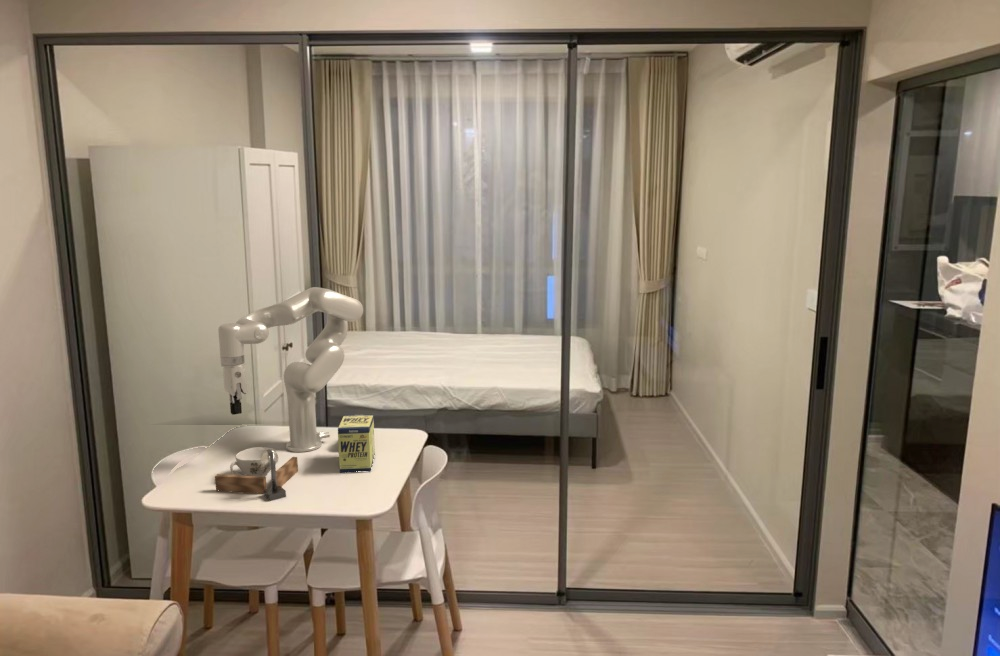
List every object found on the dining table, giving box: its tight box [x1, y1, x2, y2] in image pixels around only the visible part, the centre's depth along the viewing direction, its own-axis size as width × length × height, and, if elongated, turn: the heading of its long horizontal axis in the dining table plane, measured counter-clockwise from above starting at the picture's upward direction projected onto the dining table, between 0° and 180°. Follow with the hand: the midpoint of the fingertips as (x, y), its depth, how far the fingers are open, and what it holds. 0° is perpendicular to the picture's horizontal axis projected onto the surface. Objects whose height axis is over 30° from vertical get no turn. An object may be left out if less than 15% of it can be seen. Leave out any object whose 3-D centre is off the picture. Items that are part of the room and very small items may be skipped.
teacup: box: [229, 446, 277, 477], centre depth 233 cm, size 15×12×8 cm
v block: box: [214, 456, 299, 495], centre depth 226 cm, size 27×12×5 cm, turn 127°
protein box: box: [337, 413, 376, 474], centre depth 243 cm, size 10×16×16 cm
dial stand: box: [260, 450, 287, 502], centre depth 218 cm, size 5×6×14 cm
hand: (236, 413), depth 241 cm, fingers closed
